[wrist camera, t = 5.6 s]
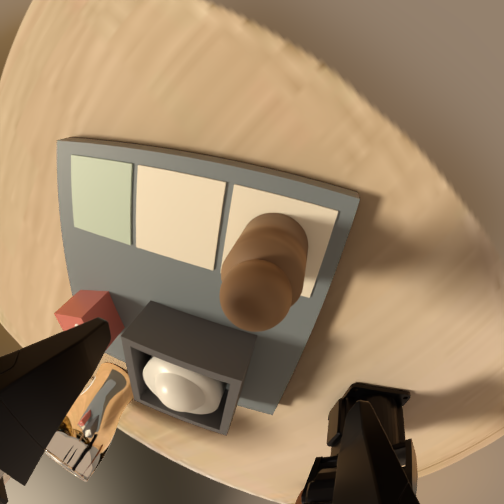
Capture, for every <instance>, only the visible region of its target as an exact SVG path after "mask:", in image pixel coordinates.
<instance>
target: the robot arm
mask: <svg viewBox="0 0 504 504" xmlns="http://www.w3.org/2000/svg"><path fill="white" fill-rule="evenodd" d="M110 341H111V333H110V328H109V323H108V321H106V320H104V319H102V318H100V317H97V318H94V319H92V320H90V321H87V322H85V323H82V324H80V325H78V326H75V327H73V328H70V329H68V330H66V331H63V332H61V333H58V334H56V335H53V336H51V337H49V338H46V339H44V340H41V341H39V342H37V343H34V344H32V345H29V346H27V347H24V348H22V349H20V350H17V351H15V352H12V353H10V354H7V355H4V356H2V357H0V504H7V502H8V498H7V494H6V490H5V485H4V480H3V474H4V473H6V474H7V475H9V476H10V477H12V478H13V479H15V480H16V481H18V482H19V483H21V484H22V485H24V486H25V485H26V483H27V481H28V480H29V477H30V476H31V474H32V472H33V471H34V469H35V467H36V465H37V464H38V462H39V460H40V458H41V456H42V455H43V453H44V451H45V449H46V448H47V446H48V444H49V443H50V441H51V439H52V438H53V436H54V434H55V433H56V431H57V429H58V428H59V426H60V424H61V423H62V421H63V420H64V418H65V416H66V415H67V413H68V412H69V410H70V409H71V407H72V405H73V404H74V402H75V401H76V399H77V398H78V396H79V395H80V393H81V392H82V390H83V388H84V387H85V385H86V384H87V382H88V381H89V379H90V378H91V376H92V375H93V373H94V371H95V370H96V368H97V366H98V364H99V362H100V360H101V358H102V356H103V354H104V352H105V351H106V349H107V347H108V345H109V343H110ZM409 399H410V393H409V392H406V391H399V390H392V389H385V388H379V387H373V386H368V385H362V384H352V385H351V386H350V387H349V389H348V390H347V391H346V393H345V394H344V396H343V397H342V398H340V399H339V400H338V401H337V403H336V404H335V405H334V407H333V408H332V409H331V411H330V413H329V416H328V420H329V425H328V435H327V445H328V446H330V447H331V456H330V457H316V459H315V462H314V464H313V466H312V469H311V472H310V474H309V477H308V480H307V482H306V485H305V487H304V490H303V492H302V495H301V503H302V504H420V503H419V501H418V499H417V497H416V491H417V477H418V474H417V461H416V454H415V450H414V446H413V442H412V439H408V440H405V429H404V418H403V409H402V406H403V405H404V404H405V403H406V402H407V401H408V400H409ZM402 465H405V467H402Z"/></svg>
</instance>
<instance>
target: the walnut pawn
mask: <svg viewBox="0 0 504 504" xmlns="http://www.w3.org/2000/svg"><path fill="white" fill-rule="evenodd" d="M307 255H308V239H307V235H306V233H305V231H304V229H303V228H302V226H301V225H300V224H299V223H298V222H297V221H295V220H294V219H292V218H291V217H289V216H287V215H284V214H280V213H265V214H261V215H259V216H257V217H255V218H254V219H252V220H251V221H250V222H249V223H248V224H247V225H246V227H245V229H244V230H243V232H242V233H241V235H240V236H239V238H238V240H237V241H236V243H235V244H234V246H233V247H232V249H231V250H230V252H229V254H228V255H227V257H226V258H225V260H224V262H223V264H222V268H221V280H222V284H221V287H220V294H219V296H220V304H221V307H222V310H223V312H224V314H225V315H226V317H227V318H228V319H229V320H230V321H231V322H232V323H233V324H234V325H235V326H237V327H239V328H241V329H243V330H247V331H252V332H260V331H265V330H268V329H271V328H273V327H275V326H276V325H278V324H279V323H280V322H281V321H282V320H283V319H284V318H285V317H286V315H287V313H288V312H289V309H290V307H291V306H293V305H294V304H295V303H296V302H297V300H298V299H299V297H300V296H301V293H302V290H303V285H304V278H305V270H306V262H307Z"/></svg>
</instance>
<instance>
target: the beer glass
mask: <svg viewBox="0 0 504 504" xmlns="http://www.w3.org/2000/svg"><path fill="white" fill-rule="evenodd" d="M133 398H134V396H133V392H132V388H131V384H130V379H129V375H128V373H127V372H126V371H125V370H123V369H122V368H120V367H118V366H116V365H114V364H111V363H103V364H101V366H100V367H99V369H98V371H97V373H96V375H95V377H94V379H93V381H92V382H91V384H90V385H89V386H88V387H87V389H86V390H85V391H83V392H82V393H81V394H80V395H79V396H78V398H77V399H76V401H75V402H74V404H73V405H72V407H71V409H70V410H69V412H68V413H67V415H66V416H65V418H64V420H63V421H62V423H61V424H60V426H59V428H58V429H57V431H56V433H55V434H54V436H53V438H52V439H51V441H50V443H49V444H48V446H47V448H46V449H45V451H44V453H45V454H47V455H48V456H49V457H50V458H51V459H52V460H54V461H55V462H56V463H58V464H59V465H60V466H62V467H63V468H64V469H66V470H67V471H69V472H70V473H72V474H73V475H75V476H77V477H78V478H80V479H81V480H83V481H86V482H87V481H88V479H89V477H90V476H91V475H92V474H93V472H94V471H95V470H96V468H97V467H98V465H99V464H100V462H101V461H102V459H103V458H104V456H105V454H106V452H107V450H108V449H109V446H110V444H111V441H112V439H113V436H114V433H115V430H116V428H117V425H118V422H119V420H120V417H121V415H122V413H123V411H124V409H125V408H126V406H127V405H128V404H129V402H130V401H131V400H132V399H133Z"/></svg>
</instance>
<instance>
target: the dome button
mask: <svg viewBox="0 0 504 504" xmlns="http://www.w3.org/2000/svg"><path fill="white" fill-rule="evenodd" d="M143 378H144V381H145V383H146V384H147V386H148V387H149V389H150V390H151V391H152V392H153V393H154V394H155V395H156V396H157V397H158V398H159V399H160V401H161V402H162V403H163V404H164V405H165V406H167V407H168V408H170V409H172V410H175V411H179V412H188V413H193V414H208V413H212V412H214V411H215V410H216V409H217V408H218V406H219V404H220V401H221V399H222V396H223V394H224V391H225V388H226V386H227V383H225V382H222V381H219V380H216V379H213V378H210V377H207V376H204V375H201V374H198V373H196V372H193V371H190V370H187V369H185V368H182V367H179V366H177V365H174V364H171V363H169V362H166V361H164V360H161V359H159V358H156V357H154V356H152V357H151V358H150V360H149V361H148V363H147V364H146V366H145V367H144V369H143Z"/></svg>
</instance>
